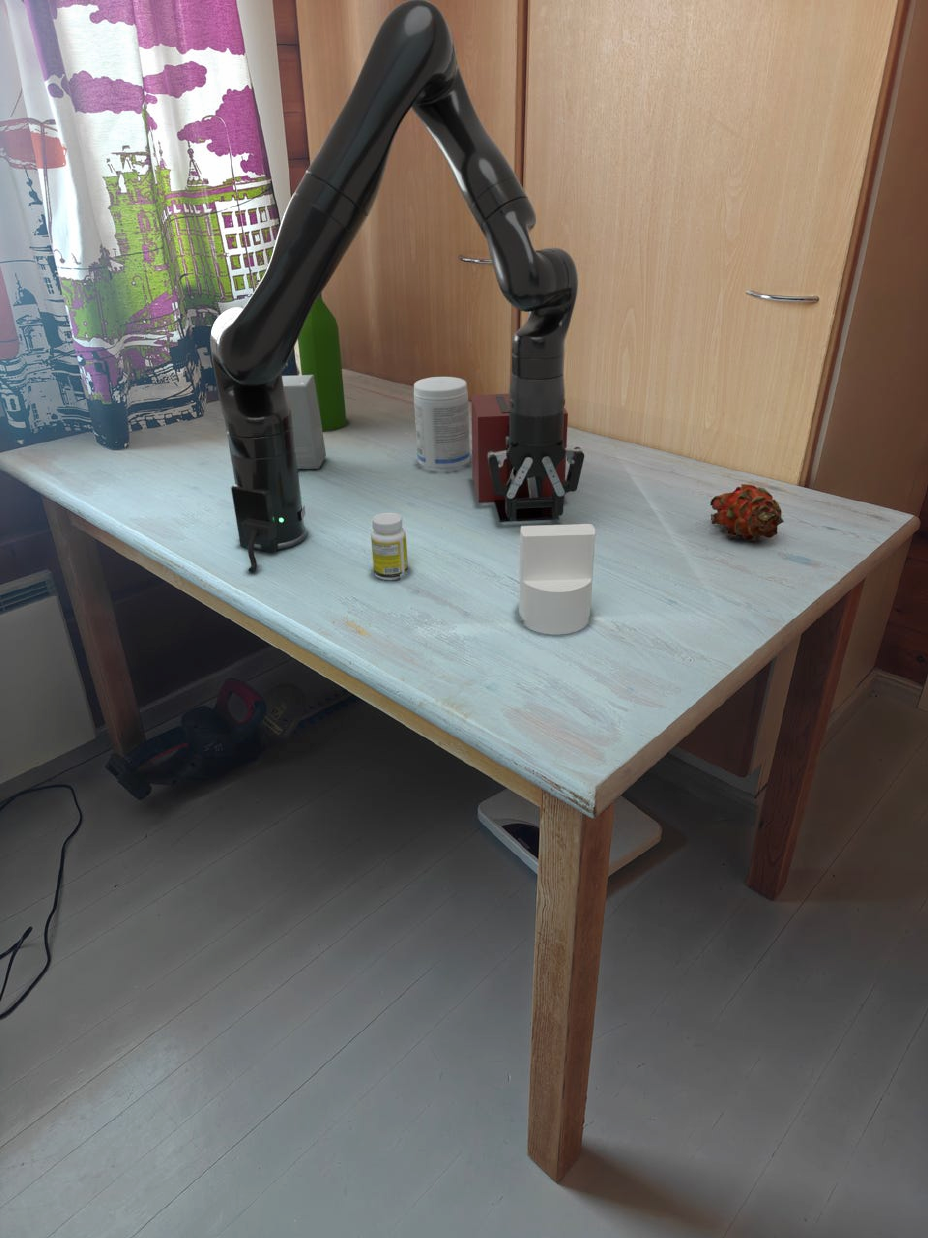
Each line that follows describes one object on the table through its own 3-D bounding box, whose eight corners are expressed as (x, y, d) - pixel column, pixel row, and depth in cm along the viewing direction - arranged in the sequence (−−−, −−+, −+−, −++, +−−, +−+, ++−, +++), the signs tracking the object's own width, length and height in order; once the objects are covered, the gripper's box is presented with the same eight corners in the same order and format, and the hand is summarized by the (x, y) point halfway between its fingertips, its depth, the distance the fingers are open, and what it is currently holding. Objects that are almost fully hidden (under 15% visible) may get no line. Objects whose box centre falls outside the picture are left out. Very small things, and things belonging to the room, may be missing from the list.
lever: (553, 510, 129) (555, 500, 127) (515, 512, 128) (516, 502, 126) (541, 437, 136) (543, 427, 134) (505, 439, 136) (506, 428, 133)
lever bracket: (557, 524, 136) (560, 438, 129) (499, 526, 135) (499, 440, 128) (547, 499, 145) (549, 417, 138) (492, 501, 144) (492, 419, 137)
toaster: (564, 503, 143) (568, 412, 135) (478, 507, 142) (477, 416, 134) (552, 476, 153) (555, 391, 146) (472, 480, 152) (471, 394, 145)
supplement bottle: (390, 562, 125) (387, 508, 121) (415, 571, 123) (412, 516, 119) (366, 574, 122) (362, 519, 118) (391, 584, 120) (387, 528, 115)
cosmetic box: (326, 458, 163) (318, 373, 155) (317, 472, 157) (307, 384, 149) (282, 457, 164) (271, 372, 156) (271, 471, 158) (259, 383, 150)
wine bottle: (300, 420, 184) (280, 253, 167) (342, 415, 186) (327, 250, 169) (306, 433, 176) (287, 260, 160) (350, 428, 179) (335, 257, 162)
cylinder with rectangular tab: (584, 598, 115) (589, 514, 109) (595, 633, 108) (601, 545, 102) (515, 600, 115) (517, 516, 109) (522, 635, 107) (523, 547, 101)
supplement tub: (477, 458, 162) (477, 378, 155) (457, 475, 155) (455, 392, 147) (430, 452, 165) (427, 373, 158) (408, 468, 158) (403, 387, 151)
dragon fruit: (774, 562, 127) (709, 545, 136) (805, 517, 128) (738, 503, 138) (754, 525, 122) (686, 510, 131) (786, 479, 123) (717, 467, 132)
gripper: (583, 396, 124) (577, 506, 133) (482, 399, 124) (482, 510, 132) (593, 411, 118) (587, 526, 126) (487, 416, 117) (487, 531, 126)
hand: (533, 518), depth 129 cm, fingers closed on lever, 5 cm apart
